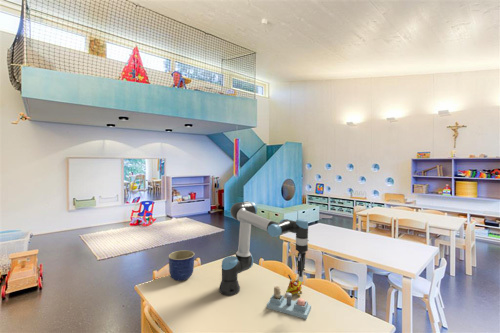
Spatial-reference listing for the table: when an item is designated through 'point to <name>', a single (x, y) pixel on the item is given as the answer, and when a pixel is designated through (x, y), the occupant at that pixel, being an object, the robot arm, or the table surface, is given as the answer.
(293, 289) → the toy
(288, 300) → the dial post
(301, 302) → the knob coral
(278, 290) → the knob beech
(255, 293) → the table surface
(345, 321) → the table surface
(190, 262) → the planter
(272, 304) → the mount board
